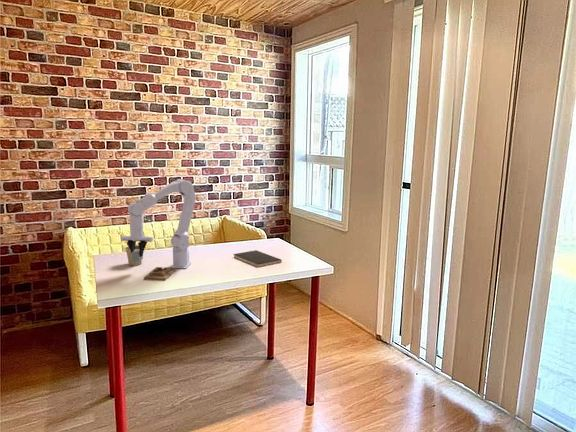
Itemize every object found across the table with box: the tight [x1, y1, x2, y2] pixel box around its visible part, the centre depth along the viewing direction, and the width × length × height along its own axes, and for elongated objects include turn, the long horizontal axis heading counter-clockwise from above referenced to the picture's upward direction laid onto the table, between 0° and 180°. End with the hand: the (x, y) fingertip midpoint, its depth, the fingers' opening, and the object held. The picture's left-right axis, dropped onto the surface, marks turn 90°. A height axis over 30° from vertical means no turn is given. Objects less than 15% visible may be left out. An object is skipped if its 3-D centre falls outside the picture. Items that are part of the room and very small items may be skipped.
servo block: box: [132, 249, 144, 262], centre depth 196 cm, size 5×3×6 cm, turn 177°
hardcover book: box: [233, 250, 283, 268], centre depth 226 cm, size 16×23×2 cm
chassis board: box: [143, 266, 176, 281], centre depth 195 cm, size 14×10×2 cm
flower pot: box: [124, 244, 143, 266], centre depth 211 cm, size 9×9×9 cm
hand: (137, 255), depth 196 cm, fingers closed on servo block, 3 cm apart
